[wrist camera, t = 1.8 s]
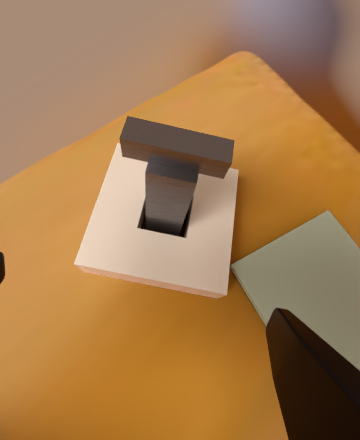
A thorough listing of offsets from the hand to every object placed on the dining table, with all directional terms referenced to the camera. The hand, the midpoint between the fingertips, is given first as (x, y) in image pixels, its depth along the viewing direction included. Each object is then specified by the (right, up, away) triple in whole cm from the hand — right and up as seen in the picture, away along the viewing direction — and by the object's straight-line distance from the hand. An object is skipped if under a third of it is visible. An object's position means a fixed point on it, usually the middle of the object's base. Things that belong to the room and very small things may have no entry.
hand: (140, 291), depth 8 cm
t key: (0, +2, +16) cm, 16 cm away
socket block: (0, +2, +16) cm, 16 cm away
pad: (+15, -5, +15) cm, 22 cm away
